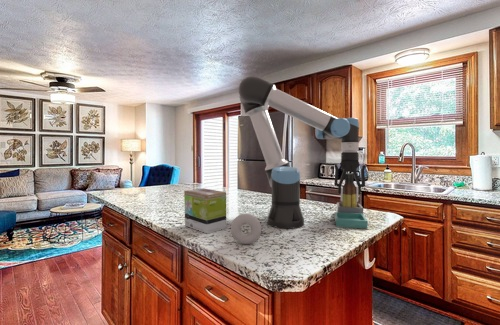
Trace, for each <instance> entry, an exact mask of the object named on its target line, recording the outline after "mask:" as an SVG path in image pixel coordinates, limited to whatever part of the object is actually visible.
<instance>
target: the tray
mask: <svg viewBox="0 0 500 325" xmlns="http://www.w3.org/2000/svg"><path fill="white" fill-rule="evenodd" d="M334 222H335V227H338V228H353V229H367V230H368V225H369V224H368V220H367V218H366V217H365V215H364V213H363V214H358V213H340V212H337V211H335V212H334Z"/></svg>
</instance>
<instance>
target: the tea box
mask: <svg viewBox="0 0 500 325" xmlns="http://www.w3.org/2000/svg"><path fill="white" fill-rule="evenodd" d="M183 191H184V192H183V193H184V196H183V198H184V226H185V227H188V228H191V229H192V230H196V231H198V230H199V232H201V233H203V232H204V234H206V233H209V234H211V233H210V232H212V233H215V232H214V231H216V232H219V231H222V230H224V229H227V192H226V191H221V190H216V189H210V188H204V187H203V188H196V189H188V190H183ZM221 229H222V230H221ZM218 230H219V231H218Z"/></svg>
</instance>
